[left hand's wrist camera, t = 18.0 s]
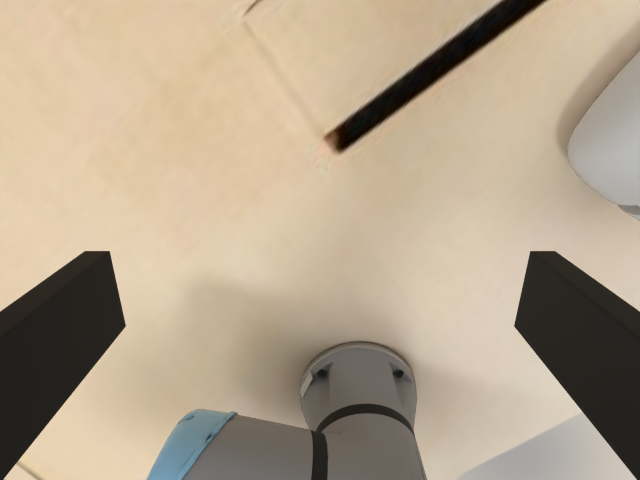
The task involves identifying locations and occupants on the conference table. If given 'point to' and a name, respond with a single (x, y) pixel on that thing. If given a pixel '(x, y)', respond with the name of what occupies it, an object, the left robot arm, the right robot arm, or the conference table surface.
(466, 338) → the conference table surface
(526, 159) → the conference table surface
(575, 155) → the projector
